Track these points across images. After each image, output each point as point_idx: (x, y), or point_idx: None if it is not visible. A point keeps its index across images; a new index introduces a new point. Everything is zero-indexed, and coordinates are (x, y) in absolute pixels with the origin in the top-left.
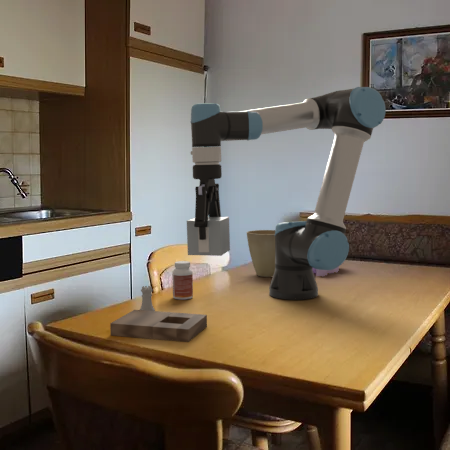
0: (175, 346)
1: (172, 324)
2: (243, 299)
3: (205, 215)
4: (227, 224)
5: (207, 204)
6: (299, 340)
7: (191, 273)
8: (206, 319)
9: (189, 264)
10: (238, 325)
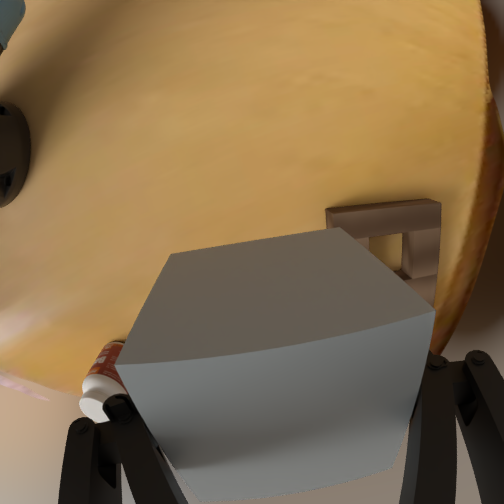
0: (450, 210)
1: (420, 247)
2: (63, 236)
3: (487, 397)
4: (184, 324)
5: (453, 492)
6: (343, 6)
7: (97, 375)
8: (333, 211)
9: (91, 394)
10: (290, 144)
